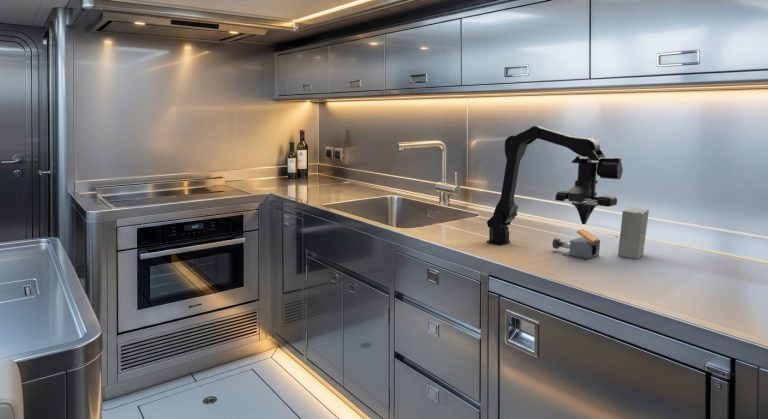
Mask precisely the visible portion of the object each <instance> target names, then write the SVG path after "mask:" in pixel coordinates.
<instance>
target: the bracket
mask: <svg viewBox="0 0 768 419" xmlns="http://www.w3.org/2000/svg"><path fill="white" fill-rule="evenodd" d="M596 237H597V238H598V236H596ZM569 243H570V249H569V250H568V251H566V252H563V253H562V254H561V255H562V256H565V257H571V258H575V259H580V260H586V261H589V260H592V259H595V258H598V257H599V256H600V250H601V248H600V245H601V240H600V239H599V238H598V241H595V242H592V243H591V242H590V240H587V239H585V238H584V237H582V236H581V237H576V238H574V239H571V240H569Z"/></svg>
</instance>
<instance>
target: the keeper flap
mask: <svg viewBox="0 0 768 419" xmlns="http://www.w3.org/2000/svg"><path fill="white" fill-rule="evenodd" d="M575 233H577V234H578V235H579V236H581V237H584V238H585V239H587V240H590V242H591V243H592V242H595V241H598V240H599V238H597V237H598V236H595V235H594V234H592V233H591V232H589V231H588V230H586V229H584V228H582V229H579V230H577V231H576V232H575Z"/></svg>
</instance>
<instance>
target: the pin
mask: <svg viewBox="0 0 768 419" xmlns="http://www.w3.org/2000/svg"><path fill="white" fill-rule="evenodd" d="M551 244H552V248H553V249H557V250H559V249H560V248H564V249H568V250H570V242H567V241H566V242H565V241H561V238H558V237H557V238H556V237H555V238H553V240H552V243H551Z"/></svg>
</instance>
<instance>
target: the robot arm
mask: <svg viewBox="0 0 768 419" xmlns="http://www.w3.org/2000/svg"><path fill="white" fill-rule="evenodd" d="M537 139H539V140H541V141H545V142H549V143H551V144H554V145H558V146H560V147H564V148H567V149H569V150H570V151H572V152H573V153H575V154H577V156H576V157H575V158H574V159H573V160H571V164H578V166H577V179H576V180H575V182H574V186H572V187H571V188H570V189H569V190H561V191H557V192H556V193H555V198H554V200H555V201H557V202H558V201H559V202H564V201H565V200H568V201H569V202H571V203H570V204H571V206H574V207H575V209H576V210H577V212H578V215H579V219H580V222H581V224H582V225H586V224H587V222H588V220H589V218H590V216H591V214H592V213H593V211H594V210H595V208H596V207H598V206H600V207H608V208H609V207H613V206H617V205H618V199H617V197H616V196H615V195H608V194H604V195H600V196H597V195H598V194H597V192H596V185H597V184H598V179H597V176H599V178H600V179H606V180H607V179H608V180H609V179H610V180H621V178H622V175H623V170H624V168H623V162H622V158H621V157H607V156H606V155H605V153H604V152H603V151H602V149H601V145H600V142H599V140H597V139H596V138H590V137H583V136H573V135H569V134H567V133H563V132H559V131H556V130H552V129H550V128H547V127H543V126H541V125H532V126H531V127H529V128H528V129H527V130H524V131H522V132H519V133H517V134H516V135H510V136H508V137H507V138H506V139H505V140H504V155H505V158H506V162H505V168H504V173H503V174H504V176H503V180H502V188H501V194H500V199H499V201H498V202H497V204H496V206H495V209H494V210H493V211H494V212H493V214H492V217H490V218H489V219H488V220H487V221H486V224H487V228H489V229H488V230H489V232H488V233H489V235H488V236H489V238H488V240H486V243H489V244H493V245H500V246H502V245H505V244H509V243H511V240H510V230H509V226H510V225H511V223H512V221H514V220H515V218H516V217H517V216H518V209H519V204H516V203H515V193H516V188H517V181H518V176H519V169H520V165H521V164H520V163H521V160H522V158H523V157H524V155H525V153H526V151H527V148H528V145H530V144H533V142H535V141H536V140H537Z"/></svg>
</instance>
